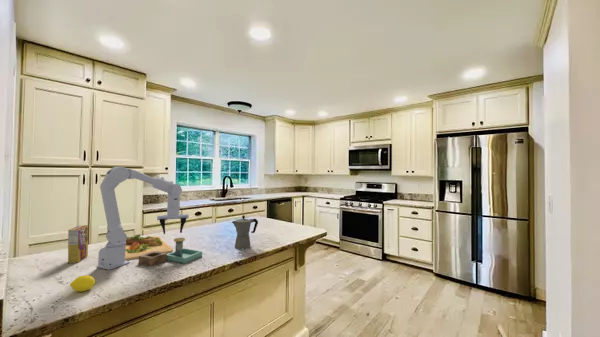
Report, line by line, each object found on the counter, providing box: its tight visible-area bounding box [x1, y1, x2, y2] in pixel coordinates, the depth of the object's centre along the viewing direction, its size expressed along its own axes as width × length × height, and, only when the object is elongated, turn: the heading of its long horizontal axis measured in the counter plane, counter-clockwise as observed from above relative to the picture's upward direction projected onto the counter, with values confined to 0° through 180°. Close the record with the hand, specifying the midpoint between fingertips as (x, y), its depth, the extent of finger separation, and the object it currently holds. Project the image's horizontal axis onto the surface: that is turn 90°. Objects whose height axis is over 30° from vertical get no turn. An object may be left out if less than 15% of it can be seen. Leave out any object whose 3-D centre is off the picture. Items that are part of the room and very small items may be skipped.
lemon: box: [69, 274, 96, 293], centre depth 91 cm, size 7×5×5 cm
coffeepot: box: [231, 214, 259, 250], centre depth 148 cm, size 15×9×18 cm, turn 118°
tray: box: [166, 247, 203, 265], centre depth 127 cm, size 12×12×2 cm
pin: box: [173, 237, 186, 257], centre depth 125 cm, size 5×5×9 cm
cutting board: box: [125, 234, 174, 261], centre depth 141 cm, size 35×23×8 cm
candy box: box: [67, 224, 89, 264], centre depth 120 cm, size 9×4×15 cm, turn 17°
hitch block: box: [138, 251, 168, 267], centre depth 120 cm, size 8×8×4 cm
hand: (172, 233), depth 133 cm, fingers open, 7 cm apart
